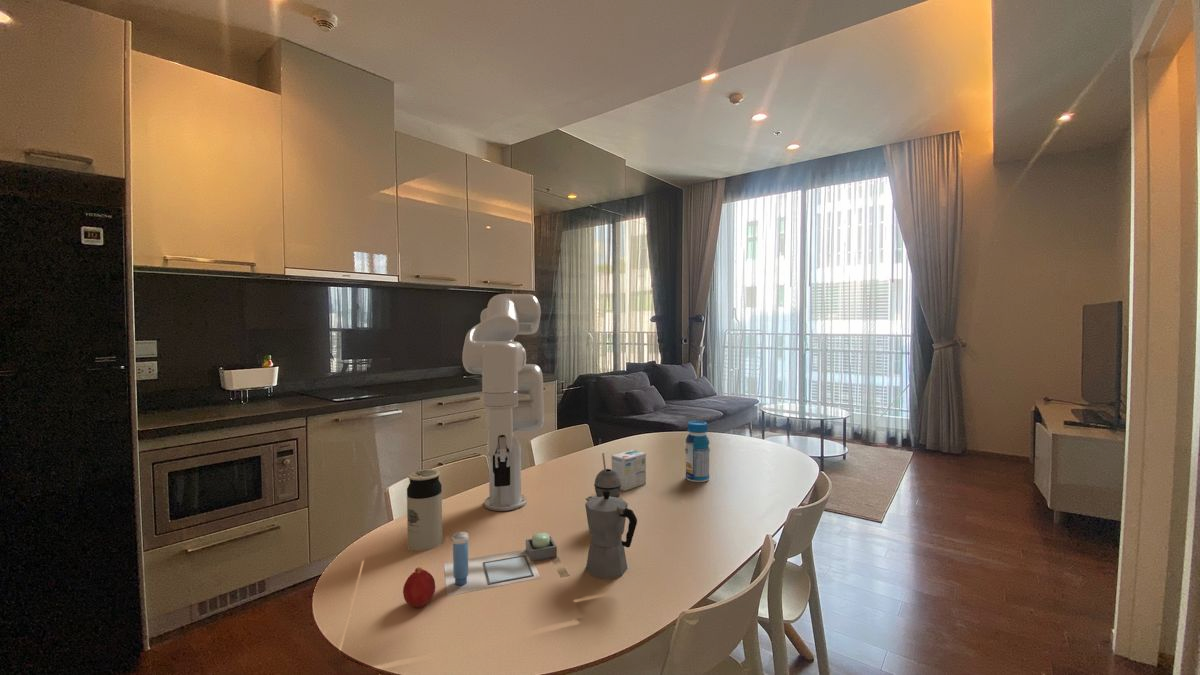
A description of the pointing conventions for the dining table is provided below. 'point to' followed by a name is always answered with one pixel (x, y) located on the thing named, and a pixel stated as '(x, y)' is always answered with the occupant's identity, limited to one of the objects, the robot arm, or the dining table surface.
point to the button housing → (541, 551)
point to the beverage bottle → (697, 452)
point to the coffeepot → (608, 535)
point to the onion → (419, 588)
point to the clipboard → (497, 571)
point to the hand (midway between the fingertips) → (501, 478)
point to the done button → (540, 540)
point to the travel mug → (424, 510)
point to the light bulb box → (630, 468)
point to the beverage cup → (607, 482)
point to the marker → (460, 558)
